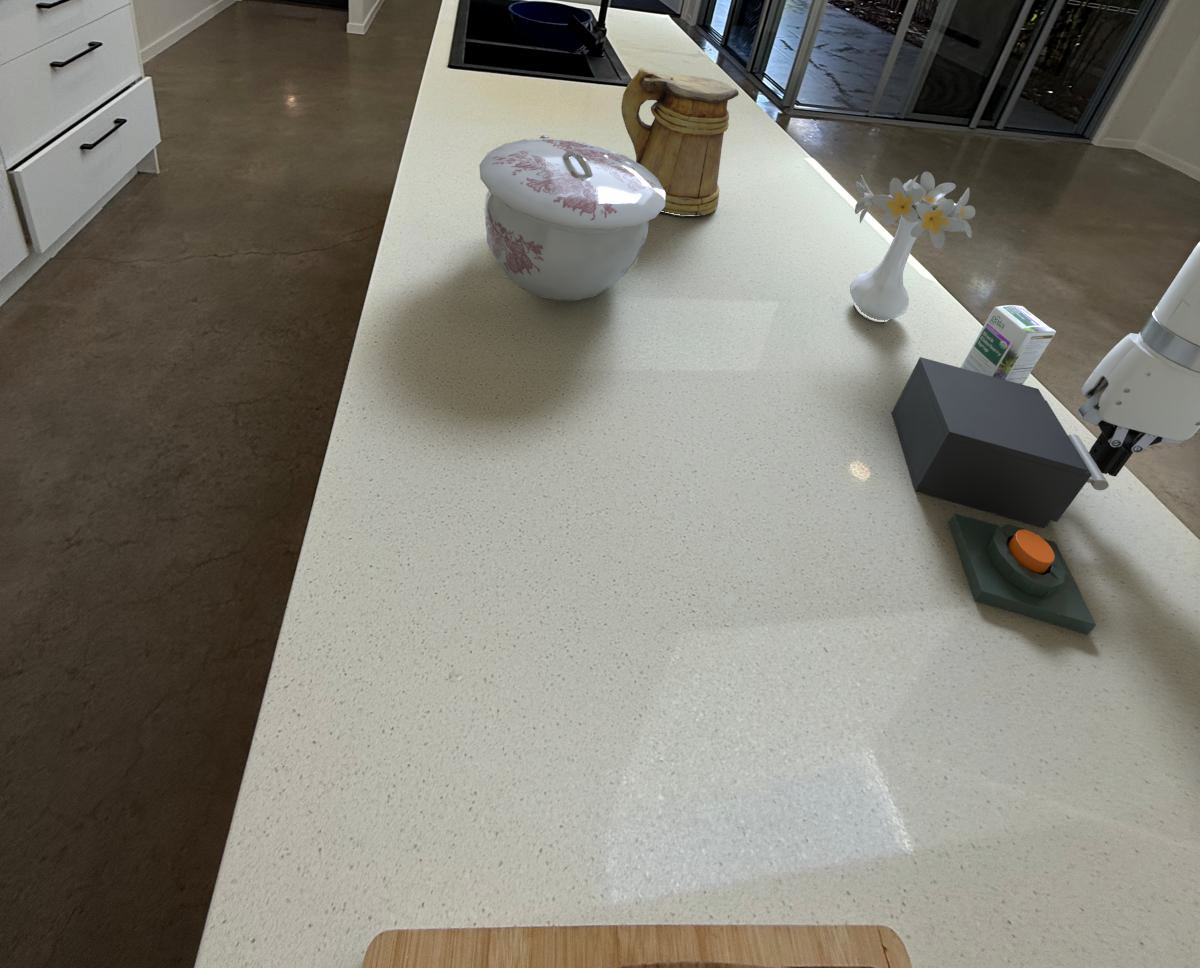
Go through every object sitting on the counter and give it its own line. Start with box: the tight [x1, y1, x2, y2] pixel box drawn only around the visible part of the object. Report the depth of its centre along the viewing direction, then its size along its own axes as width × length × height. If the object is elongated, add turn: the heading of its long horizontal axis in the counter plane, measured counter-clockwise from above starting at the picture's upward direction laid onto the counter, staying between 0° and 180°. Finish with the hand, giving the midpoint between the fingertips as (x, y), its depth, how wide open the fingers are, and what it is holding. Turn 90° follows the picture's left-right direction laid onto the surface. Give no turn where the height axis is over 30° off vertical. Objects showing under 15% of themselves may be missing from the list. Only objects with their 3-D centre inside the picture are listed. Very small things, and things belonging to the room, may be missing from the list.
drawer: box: [1045, 399, 1110, 523], centre depth 79 cm, size 18×12×8 cm, turn 79°
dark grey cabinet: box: [890, 356, 1088, 529], centre depth 79 cm, size 15×13×10 cm
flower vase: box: [849, 171, 976, 321], centre depth 104 cm, size 13×18×25 cm
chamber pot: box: [478, 134, 666, 302], centre depth 98 cm, size 28×28×21 cm
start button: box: [1008, 529, 1055, 573], centre depth 67 cm, size 4×4×2 cm
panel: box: [947, 512, 1097, 636], centre depth 68 cm, size 11×9×4 cm
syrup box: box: [959, 304, 1057, 385], centre depth 91 cm, size 6×6×14 cm
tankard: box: [621, 68, 740, 216], centre depth 128 cm, size 18×24×25 cm
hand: (1101, 465), depth 78 cm, fingers closed
